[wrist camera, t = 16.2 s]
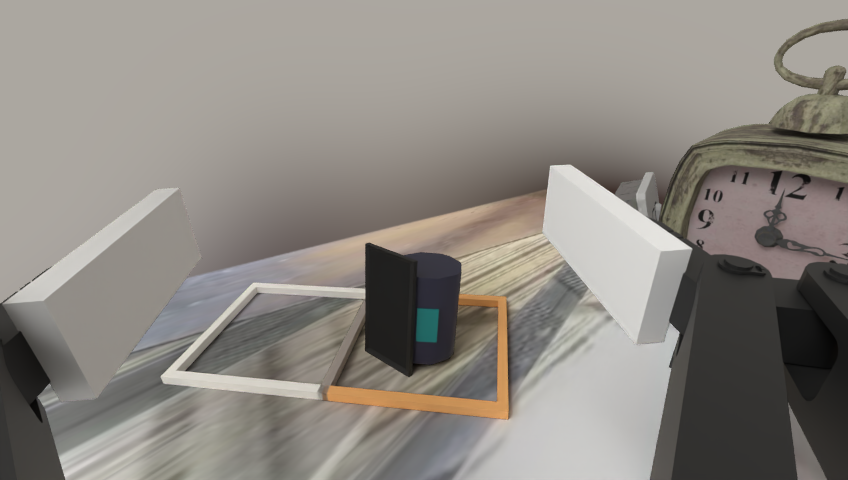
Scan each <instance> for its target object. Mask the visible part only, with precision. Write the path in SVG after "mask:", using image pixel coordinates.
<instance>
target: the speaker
mask: <svg viewBox="0 0 848 480" xmlns="http://www.w3.org/2000/svg"><path fill="white" fill-rule="evenodd" d="M460 281H461V263H460V262H459V261H457V260H455V259H454V258H452V257H450V256H447V255H443V254H437V253H423V252H420V253H414V254H408V255H401V254H398V253H395V252H393V251H390V250H387V249H385V248H382V247H379V246H377V245H374V244H371V243H367V244H366V245H365V351H366V352H368V353H370V354H371V355H373V356H375V357H376V358H378V359H380V360H381V361H383V362H385V363H386V364H388V365H390V366H391V367H393V368H395V369H396V370H398V371H400V372H401V373H403V374H405V375H406V376H408V377H409V376H411V375H412V364H413V363H417V364H429V365H432V364H435V363H438V362H441V361H443V360H446V359H449V358H450V357H451V356H452V355H453V353H454V343H455V332H456V322H457V312H458V301H459V291H460Z"/></svg>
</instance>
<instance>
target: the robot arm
mask: <svg viewBox="0 0 848 480" xmlns="http://www.w3.org/2000/svg"><path fill="white" fill-rule="evenodd" d="M542 233H543V234H544V235H545V236H546V238H547V239H548V240H549V241H550V242H551V244H552V245H553V246H554V247H555V248H556V250H557V251H558V252H559V253H560V254H561V256H562V257H563V258H564V259H565V260H566V262H567V263H568V264H569V265H570V266H571V268H572V269H573V270H574V271H575V272H576V274H577V275H578V276H579V277H580V278H581V280H582V281H583V282H584V283H585V284H586V286H587V287H588V288H589V289H590V290H591V292H592V293H593V294H594V295H595V296H596V298H597V299H598V300H599V301H600V302H601V304H602V305H603V306H604V307H605V308H606V310H607V311H608V312H609V313H610V314H611V316H612V317H613V318H614V319H615V320H616V322H617V323H618V324H619V325H620V326H621V328H622V329H623V330H624V331H625V332H626V334H627V335H628V336H629V337H630V338H631V340H632V341H633V342H634V343H635V344H636V345H638V344H648V343H658V342H664V339H665V336H666V333H667V330H668V326H669V323H671V324H672V325H673V326H674V327H675V328H676V329H677V330H678V331H679V332H680V334H679V337H678V341H677V344H676V347H675V350H674V353H673V356H672V359H671V362H670V365H669V367H670V368H672V369H671V374H670V379H669V384H668V389H667V394H666V399H665V404H664V410H663V415H662V420H661V425H660V430H659V435H658V440H657V445H656V451H655V456H654V461H653V466H652V471H651V476H650V480H797V472H796V464H795V455H794V447H793V439H792V431H791V423H790V415H789V407H788V403H789V405H790V407H791V409H792V411H793V413H794V415H795V417H796V419H797V421H798V423H799V424H800V426H801V428H802V430H803V432H804V434H805V436H806V438H807V440H808V442H809V444H810V446H811V448H812V450H813V452H814V454H815V456H816V458H817V460H818V462H819V464H820V466H821V468H822V470H823V472H824V474H825V476H826V478H827V480H848V265H847V264H843V263H839V264H836V263H831V262H813V263H809V264H808V265H807V266H806V267H805V269H804V271H803V273H802V275H801V278H800V280H795V279H784V278H773V277H772V275H771V273H770V271H769V270H768V269H767V268H765V267H764V266H762V265H761V264H759V263H756V262H754V261H752V260H750V259H746V258H743V257H739V256H734V255H727V254H714V255H710V254H709V253H707V252H706V251H704V250H703V249H701V248H700V247H698V246H697V245H695V244H694V243H692V242H691V241H689V240H688V239H686V238H683V236H682V235H680V234H679V233H677V232H674V230H673V229H671V228H670V227H668V226H667V225H665V224H664V223H662V222H660V221H657V220H655V219H652V218H650V217H647V216H644V215H643V214H641V213H640V212H638V211H637V210H635V209H634V208H632V207H631V206H630V205H628V204H627V203H625V202H624V201H622V200H621V199H619V198H618V197H617V196H615V195H614V194H612V193H611V192H609V191H608V190H606V189H605V188H603V187H602V186H601V185H599V184H598V183H596V182H595V181H593V180H592V179H590V178H589V177H587V176H586V175H585V174H583V173H582V172H580V171H579V170H577V169H576V168H574V167H573V166H572V165H556V166H550V173H549V181H548V189H547V198H546V206H545V215H544V223H543V232H542ZM201 258H202V257H201V254H200V251H199V248H198V245H197V242H196V238H195V235H194V232H193V229H192V225H191V223H190V219H189V216H188V213H187V210H186V206H185V203H184V200H183V197H182V194H181V190H180V188H169V189H156V190H155V191H153V192H152V193H151V194H149V195H148V196H147V197H145V198H144V199H142V200H141V201H140V202H138V203H137V204H136V205H134V206H133V207H132V208H130V209H129V210H128V211H126V212H125V213H124V214H122V215H121V216H120V217H118V218H117V219H116V220H114V221H113V222H112V223H110V224H109V225H108V226H106V227H105V228H104V229H102V230H101V231H100V232H98V233H97V234H96V235H94V236H93V237H92V238H90V239H89V240H87V241H86V242H85V243H83V244H82V245H81V246H79V247H78V248H77V249H75V250H74V251H73V252H71V253H70V254H69V255H67V256H66V257H65V258H63V259H62V260H61V261H59V262H58V263H56V264H55V265H54V266H52V267H50V268H48V269H46V270H45V271H44V272H42V273H41V274H40V275H38V276H37V277H36V278H34V279H33V280H32V282H29V283H28V284H26V285H25V286H24V287H22V288H21V289H20V291H19V292H15V293H14V294H13V295H11V296H10V297H9V298H7V299H6V300H5V301H3V302H2V303H0V480H65V477H64V474H63V470H62V467H61V463H60V460H59V457H58V453H57V450H56V446H55V443H54V439H53V436H52V432H51V429H50V425H49V422H48V418H47V415H46V411H45V408H44V407H43V405H42V404H41V402H40V400H39V399H38V397H37V396H38V395H39V394H40V393H41V392H42V391H43V390H44V389H45V388H46V386H47V385H48V384H49V383H50V384H51V386H52V388H53V389H54V391H55V393H56V394H57V396H58V398H59V399H60V401H61V402H69V401H79V400H89V399H97V398H98V396H99V395H100V394H101V392H102V391H103V389H104V388H105V387H106V385H107V384H108V383H109V381H110V380H111V379H112V377H113V376H114V375H115V373H116V372H117V371H118V369H119V368H120V367H121V365H122V364H123V363H124V361H125V360H126V359H127V357H128V356H129V355H130V353H131V352H132V351H133V349H134V348H135V347H136V345H137V344H138V342H139V341H140V340H141V338H142V337H143V336H144V334H145V333H146V332H147V330H148V329H149V328H150V326H151V325H152V324H153V322H154V321H155V320H156V318H157V317H158V316H159V314H160V313H161V312H162V310H163V309H164V308H165V306H166V305H167V304H168V302H169V301H170V300H171V298H172V297H173V296H174V294H175V293H176V291H177V290H178V289H179V287H180V286H181V285H182V283H183V282H184V281H185V279H186V278H187V277H188V275H189V274H190V273H191V271H192V270H193V269H194V267H195V266H196V264H197V263H198V262H199V260H200V259H201Z"/></svg>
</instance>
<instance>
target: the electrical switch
mask: <svg viewBox="0 0 848 480" xmlns="http://www.w3.org/2000/svg"><path fill="white" fill-rule="evenodd" d="M615 196H617V197H618V198H619V199H621V200H622V201H624V202H625V203H627V204H628V205H630V206H631V207H632V208H634V209H635V210H637V211H638V212H640V213H641V214H643V215H644V216H647V217H650V218H652V219H655V220H657V221H659V215H660V212H661V204H659V200H658V192H657V186H656V181H655V175H654V172H647V173H646V174H645V176H644V178H643V179H642V180H635V181H632V182H622V183H621V184H620V186H619V188H618V190H617V191H616V193H615Z"/></svg>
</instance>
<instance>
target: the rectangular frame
mask: <svg viewBox="0 0 848 480" xmlns="http://www.w3.org/2000/svg"><path fill="white" fill-rule="evenodd" d="M257 293H269V294H286V295H303V296H319V297H336V298H353V299H364V301H363V303H362V305H361V307H360V309H359V311H358V313H357V315H356V317H355V319H354V320H353V322H352V324H351V326H350V328H349V330H348V332H347V334H346V336H345V338H344V340H343V342H342V344H341V346H340V348H339V350H338V352H337V354H336V356H335V358H334V360H333V362H332V364H331V366H330V368H329V370H328V372H327V373H326V375H325V377H324V379H323V381H322V383H321V385H320V384H309V383H299V382H289V381H278V380H268V379H258V378H248V377H237V376H227V375H217V374H207V373H196V372H186V371H185V370H186V369H187V368H188V367H189V366H190V365H191V364H192V363H193V362H194V361H195V359H196V358H197V357H198V356H199V355H200V354H201V353H202V352H203V351H204V350H205V349H206V348H207V347H208V345H209V344H210V343H211V342H212V341H213V340H214V339H215V338H216V337H217V336H218V335H219V334H220V333H221V331H222V330H223V329H224V328H225V327H226V326H227V325H228V324H229V323H230V322H231V321H232V320H233V319H234V318H235V316H236V315H237V314H238V313H239V312H240V311H241V310H242V309H243V308H244V307H245V306H246V305H247V304H248V302H249V301H250V300H251V299H252V298H253V297H254V296H255V295H256V294H257ZM458 305H470V306H487V307H498V361H497V402H494V401H484V400H474V399H464V398H453V397H443V396H433V395H422V394H412V393H402V392H392V391H381V390H371V389H361V388H350V387H340V386H335V385H336V383H337V381H338V379H339V377H340V374H341V372H342V370H343V368H344V366H345V364H346V362H347V359H348V357H349V355H350V353H351V351H352V349H353V347H354V344H355V342H356V340H357V338H358V336H359V334H360V332H361V329H362V327H363V325H364V323H365V289H359V288H341V287H323V286H305V285H287V284H269V283H252V284H251V285H250V286H249V287H248V288H247V289H246V290H245V291H244V292H243V293H242V294H241V295H240V296H239V297H238V299H237V300H236V301H235V302H234V303H233V304H232V305H231V306H230V307H229V308H228V309H227V310H226V311H225V312H224V313H223V314H222V315H221V316H220V317H219V318H218V319H217V320H216V321H215V322H214V323H213V324H212V325H211V326H210V327H209V328H208V329H207V330H206V331H205V332H204V333H203V334H202V335H201V336H200V337H199V338H198V339H197V340H196V341H195V342H194V343H193V344H192V345H191V346H190V347H189V348H188V349H187V350H186V351H185V352H184V353H183V354H182V355H181V356H180V357H179V358H178V359H177V360H176V361H175V362H174V363H173V364H172V365H171V367H170V368H169V369H168V370H167V371H166V372H165V373H164V374H163V375H162V376H161V379H162V381H163V383H164V384H171V385H181V386H190V387H200V388H209V389H219V390H229V391H238V392H248V393H258V394H267V395H277V396H286V397H296V398H306V399H315V400H325V401H335V402H344V403H354V404H363V405H373V406H383V407H392V408H402V409H412V410H421V411H431V412H441V413H450V414H460V415H469V416H479V417H489V418H498V419H508V413H509V407H508V357H507V307H506V297H503V296H485V295H467V294H459V301H458Z"/></svg>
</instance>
